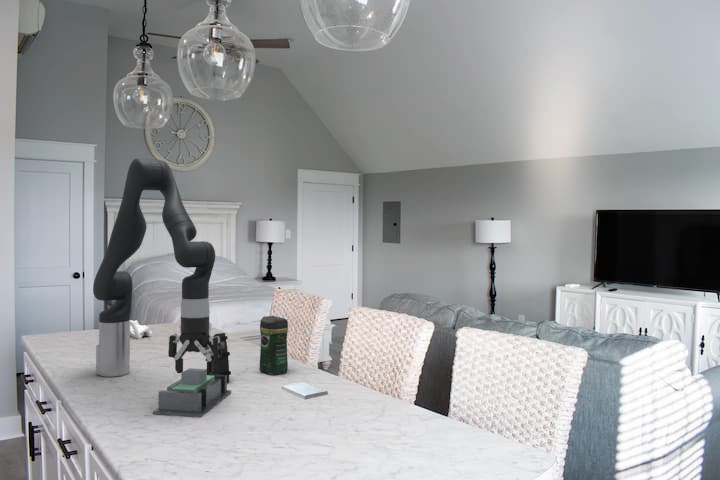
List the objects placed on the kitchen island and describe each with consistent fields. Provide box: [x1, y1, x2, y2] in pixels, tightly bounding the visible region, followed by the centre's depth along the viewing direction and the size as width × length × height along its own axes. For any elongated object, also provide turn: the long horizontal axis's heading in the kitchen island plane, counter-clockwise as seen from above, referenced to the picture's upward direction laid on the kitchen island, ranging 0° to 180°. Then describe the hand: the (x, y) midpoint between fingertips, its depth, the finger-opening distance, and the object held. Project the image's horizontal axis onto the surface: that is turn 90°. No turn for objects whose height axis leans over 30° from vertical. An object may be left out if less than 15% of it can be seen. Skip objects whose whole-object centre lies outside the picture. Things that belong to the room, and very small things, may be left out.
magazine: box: [205, 332, 232, 384], centre depth 176 cm, size 4×13×15 cm, turn 36°
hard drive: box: [281, 381, 329, 400], centre depth 164 cm, size 2×8×12 cm
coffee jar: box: [259, 315, 289, 375], centre depth 186 cm, size 10×8×19 cm
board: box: [172, 367, 215, 392], centre depth 152 cm, size 14×6×5 cm, turn 172°
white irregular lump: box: [130, 319, 153, 340], centre depth 241 cm, size 12×6×11 cm, turn 47°
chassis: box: [152, 374, 232, 418], centre depth 152 cm, size 21×13×6 cm, turn 172°
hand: (194, 373), depth 152 cm, fingers open, 8 cm apart
